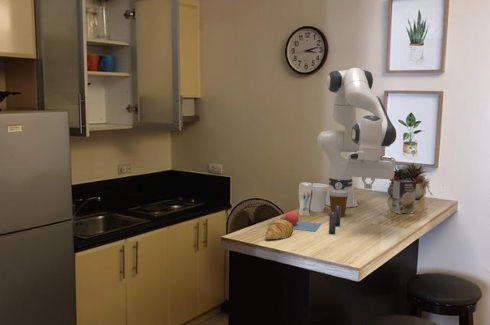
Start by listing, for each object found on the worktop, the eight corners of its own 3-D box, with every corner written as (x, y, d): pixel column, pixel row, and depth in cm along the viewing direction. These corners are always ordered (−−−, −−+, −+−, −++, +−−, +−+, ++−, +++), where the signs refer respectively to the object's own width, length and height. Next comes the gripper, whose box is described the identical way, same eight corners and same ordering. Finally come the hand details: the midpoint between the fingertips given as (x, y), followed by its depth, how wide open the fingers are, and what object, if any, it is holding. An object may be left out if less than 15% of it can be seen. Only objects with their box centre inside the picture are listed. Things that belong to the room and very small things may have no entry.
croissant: (272, 251, 200) (281, 235, 197) (253, 236, 204) (261, 220, 201) (296, 237, 218) (304, 222, 215) (278, 223, 222) (286, 209, 219)
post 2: (334, 224, 228) (335, 205, 227) (340, 225, 227) (341, 205, 226) (333, 226, 226) (334, 206, 225) (339, 226, 225) (340, 206, 224)
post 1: (329, 232, 216) (330, 211, 215) (335, 232, 215) (336, 212, 214) (328, 233, 214) (329, 212, 212) (334, 234, 213) (335, 213, 211)
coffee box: (398, 214, 250) (400, 182, 248) (391, 211, 256) (393, 180, 254) (414, 213, 253) (416, 181, 251) (406, 210, 259) (408, 179, 257)
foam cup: (330, 212, 252) (331, 186, 250) (312, 213, 249) (313, 187, 247) (321, 208, 261) (323, 183, 259) (305, 209, 258) (306, 183, 256)
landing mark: (291, 220, 234) (291, 220, 234) (321, 224, 229) (321, 223, 229) (283, 228, 221) (283, 227, 221) (315, 231, 216) (315, 231, 216)
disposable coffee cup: (334, 218, 240) (335, 193, 238) (323, 214, 248) (324, 189, 246) (351, 217, 243) (353, 192, 242) (340, 212, 252) (341, 188, 250)
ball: (287, 210, 229) (300, 211, 227) (286, 223, 229) (299, 225, 227) (283, 211, 223) (297, 213, 222) (282, 225, 224) (296, 227, 222)
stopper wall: (284, 220, 234) (284, 215, 234) (288, 221, 233) (288, 215, 233) (276, 226, 223) (277, 221, 222) (281, 227, 222) (281, 221, 222)
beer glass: (295, 213, 249) (296, 182, 247) (307, 212, 251) (308, 181, 249) (302, 216, 242) (303, 185, 240) (315, 215, 245) (316, 184, 243)
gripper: (396, 156, 211) (394, 189, 213) (346, 153, 218) (344, 185, 220) (395, 157, 205) (393, 191, 207) (344, 154, 212) (342, 187, 214)
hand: (367, 188), depth 213 cm, fingers closed
